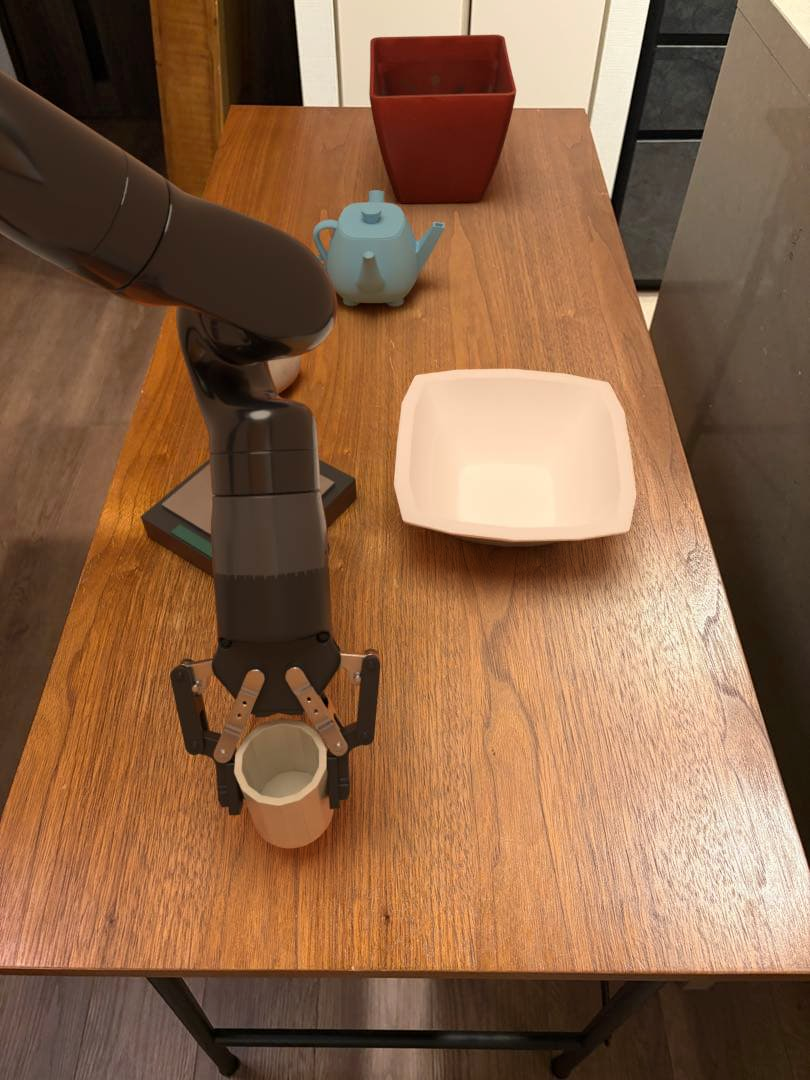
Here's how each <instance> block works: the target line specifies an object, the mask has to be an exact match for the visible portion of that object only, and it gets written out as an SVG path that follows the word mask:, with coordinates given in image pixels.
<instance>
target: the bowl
mask: <svg viewBox="0 0 810 1080" xmlns="http://www.w3.org/2000/svg"><path fill="white" fill-rule="evenodd" d="M626 419H627V418H626V414H625V410H624V408H623V406H622V404H621V402H620V400H619V398H618V397H617V395H616V393H615V391H614V389H613V387H612V385H611V384H610V383H609V382H608V381H604V380H600V379H594V378H589V377H583V376H579V375H575V374H569V373H564V372H563V373H562V372H561V373H560V372H551V371H541V370H532V369H531V370H530V369H519V368H475V369H473V368H471V369H451V370H443V371H437V372H428V373H420V374H416V375H415V376H414V377H413V378H412V381H411V383H410V385H409V387H408V389H407V392H406V393H405V395H404V397H403V398H402V401H401V406H400V415H399V423H398V431H397V441H396V451H395V452H396V453H395V466H394V476H393V477H394V478H393V487H394V492H395V495H396V500H397V503H398V507H399V512H400V517H401V520H402V522H403V523H405V524H407V525H411V526H416V527H420V528H424V529H429V530H431V531H436V532H440V533H443V534H448V535H450V536H452V537H454V538H456V539H459V540H462V541H466V542H470V543H473V544H474V543H475V544H478V545H486V546H496V547H504V548H515V547H517V548H518V547H520V548H521V547H523V548H524V547H525V548H526V547H538V546H539V547H540V546H545V545H546V546H547V545H552V544H556V543H560V542H565V541H567V542H569V541H584V540H591V539H598V538H604V537H610V536H611V537H612V536H618V535H624V534H627V533H629V531H630V529H631V524H632V520H633V515H634V509H635V505H636V500H637V495H638V494H637V489H636V487H637V486H636V479H635V473H634V464H633V463H634V462H633V455H632V449H631V443H630V437H629V431H628V426H627V420H626Z"/></svg>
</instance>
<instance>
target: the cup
mask: <svg viewBox="0 0 810 1080" xmlns="http://www.w3.org/2000/svg"><path fill="white" fill-rule="evenodd" d="M327 751H328V748H327V745H326V743H325V742H324V740H323V738H322V736H321V734H320V733H319V731H318V730H317V729H315V728H313V727H312V726H311V725H309V724H308V723H306V722H304V721H303V720H298V719H292V718H286V717H281V718H276V719H272V720H269V721H264V722H262V723H260V724H259V725H258V726H256V727H255V728H254V729H252V730H251V731H249V732H248V733H247V734H246V735H245V736H244V738H243V739H242V741H241V743H240V744H239V746H238V748H237V751H236V754H235V766H234V774H235V777H236V779H237V782H238V785H239V788H240V790H241V793H242V796H243V798H244V803H245V807H246V810H247V812H248V815H249V817H250V819H251V821H252V823H253V827H254V829H255V830H256V832H257V833H258V834H259V836H260V837H261V838H262V839H263V840H264V841H266V842H267V843H269V844H270V845H272V846H274V847H278V848H282V849H298V848H302V847H304V846H307V845H309V844H311V843H313V842H314V841H316V840H317V839H318V838H320V837H321V836H322V835H323V834H324V833H325V831H326V830H327V828H328V827H329V825H330V823H331V822H332V819H333V817H334V811H335V809H330V807H329V790H328V770H327Z"/></svg>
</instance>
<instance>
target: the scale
mask: <svg viewBox="0 0 810 1080" xmlns="http://www.w3.org/2000/svg"><path fill="white" fill-rule="evenodd" d="M209 464H210V460H209V458H208V459H206V461H204V462H203V463H202V464H201V465H200V466H199V467H198V468H197V469H195V470H194V471H193V472H192V473H190V474H189V475H188V476H187V477H186V478H184V480H182V481H181V482H180V483H179V484H178V485H176V486H175V487H174V488H172V490H170V491H169V492H168V493H167V494H165V495H164V496H163V497H162V498H161V499H160V500H158V501H157V502H156V503H154V504H153V506H151V507H150V508H149V509H148V510H147V511H145V512H144V513H143V514H142V515H141V516H140V519H141V522H142V525H143V527H144V530H145V532H146V535H147V537H148V538H150V539H152V540H153V541H154V542H156V543H157V544H159V545H161V546H163V547H164V548H166V549H167V550H169V551H170V552H172V553H174V554H175V555H177V556H178V557H180V558H182V559H183V560H184V561H186V562H188V563H190V564H191V565H193V566H194V567H196V568H198V570H200V571H202V572H204V573H206V574H207V575H209V576H210V577H212V578H213V579H214V576H213V562H212V547H211V537H210V536H208V535H206V534H205V533H203V532H201V531H200V530H198V529H196V528H195V527H193V526H191V525H190V524H188V523H186V522H185V521H183V520H181V519H180V518H178V517H177V516H175V515H173V514H172V513H170V512H168V511H167V510H165V509H163V508H162V503H164V502H165V501H166V500H167V499H168V498H169V497H171V496H172V495H173V494H174V493H175V492H177V491H178V490H179V489H180V488H181V487H182V486H184V485H185V484H186V483H187V482H188V481H190V480H191V479H192V478H193V477H194V476H196V475H197V474H198V473H199V472H200V471H201V470H203V469H204V468H205V467H206V466H207V465H209ZM319 469H320V475H322V476H324V477H326V478H328V479H330V480H332V481H334V482H335V487H334V488H333V489H332V490H331V491H330V492H328V493H327V494H326V495H325V496H324V497H323V498H322V503H323V508H324V513H325V519H326V525H327V529H328V528H329V527H330V526H331V525H332V524H333V523H334V522H335V521H336V520H337V519H338V518H339V517H340V516H341V515H342V514H343V513H344V512H345V511H346V510H347V509H348V508H349V507H350V506H351V505H353V503H355V501H356V500H357V498H358V495H357V494H358V493H357V481H356V477H354V476H352V475H350V474H348V473H346V472H345V471H342V470H340V469H339V468H336V467H335V466H333V465H331V464H329V463H327V462H325V461H324V460H321V459H319Z"/></svg>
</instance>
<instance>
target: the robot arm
mask: <svg viewBox="0 0 810 1080" xmlns="http://www.w3.org/2000/svg"><path fill="white" fill-rule="evenodd" d="M0 234H1V235H3V237H6V238H7V239H9V240H11V241H12V242H14V243H15V244H17V245H18V246H20V247H21V248H23V249H25V250H27V251H29V252H31V253H32V254H33V255H36V256H38V257H39V258H41V259H42V260H44V261H47V262H48V263H51V264H53V265H54V266H56V267H58V268H59V269H61V270H64V271H66V272H67V273H70V274H72V275H73V276H75V277H77V278H79V279H81V280H83V281H85V282H86V283H89V284H91V285H93V286H95V287H96V288H99V289H101V290H103V291H105V292H106V293H109V294H111V295H113V296H114V297H117V298H119V299H121V300H123V301H126V302H128V303H132V304H135V305H138V306H139V305H140V306H143V307H144V306H145V307H176V310H175V323H176V333H177V338H178V342H179V346H180V349H181V353H182V354H181V355H182V357H183V360H184V364H185V366H186V369H187V373H188V376H189V379H190V383H191V387H192V390H193V392H194V396H195V399H196V402H197V405H198V408H199V411H200V413H201V415H202V418H203V422H204V424H205V427H206V430H207V435H208V454H209V455H208V459H209V460H210V475H211V489H212V495H215V496H213V497H212V517H211V547H212V562H213V576H214V578H213V588H214V603H215V617H216V632H217V633H216V634H217V647H216V650H215V653H214V654H213V657H211V658H210V657H209V658H206V659H201V660H200V659H199V660H195V661H194V660H193V659H191V658H183V659H181V660H180V661H179V662H178V663H177V665H176V666H175V667H174V668H173V669H172V671H171V672H170V675H169V679H170V683H171V687H172V693H173V697H174V701H175V706H176V711H177V716H178V720H179V725H180V729H181V730H180V731H181V734H182V738H183V739H182V740H183V743H184V749H185V751H186V752H187V753H188V755H191V756H198V755H202V756H205V757H209V758H210V759H211V760H212V761H213V762H214V764H215V774H216V775H215V777H216V788H217V789H216V790H217V801H218V803H219V804H220V807H221V808H227V809H228V811H227V812H228V816H240V815H241V814H242V811H243V807H244V803H245V801H244V798H243V796H242V793H241V790H240V788H239V785H238V782H237V779H236V777H235V774H234V766H235V754H236V751H237V750H238V748H237V746H238V744H239V741H240V738H241V737H242V734H243V732H244V729H245V727H246V725H247V723H248V721H249V718H250V715H253V716H254V718H269V717H271V716H272V717H273V716H274V715H275V716H276V715H277V714H282V715H287V716H303V715H304V713H305V714H306V715H307V717H308V718H309V720H310V722H311V724H312V726H313V727H314V729H315V730H316V731H317V732H318V733H319V735H320V737H321V739H322V740H323V742H324V744H325V745H326V747H327V770H328V790H329V807H330V809H334V810H340V809H341V802H342V801H347V800H348V799H349V796H350V792H351V777H350V761H349V760H350V758H349V755H350V753H351V751H352V750H353V749H355V748H357V747H360V746H370V745H371V744H372V743H373V742H374V740H375V736H376V735H375V733H376V724H377V723H376V721H377V711H378V698H379V689H380V688H379V687H380V677H381V676H380V675H381V657H380V653H379V652H378V651H377V649H374V648H368V649H366V650H364V651H351V650H350V651H348V650H341V648H340V646H339V645H338V643H337V642H336V639H335V637H334V632H333V613H332V595H331V594H332V593H331V580H330V579H331V578H330V563H329V562H330V559H329V556H330V551H331V550H330V548H331V547H330V543H329V539H328V528H327V525H326V519H325V513H324V508H323V503H322V496H321V491H319V490H320V489H321V487H320V469H319V460H320V453H319V449H320V448H319V434H318V433H319V432H318V426H317V421H316V417H315V414H314V413H313V411H312V410H311V408H310V407H309V406H307V405H306V404H304V403H302V402H300V401H297V400H294V399H288V398H283V397H281V396H280V394H278V393H277V390H276V387H275V385H274V382H273V379H272V376H271V373H270V369H269V365H268V361H272V360H279V359H285V358H292V357H296V356H303V355H305V354H307V353H310V352H312V351H314V350H315V349H316V348H318V347H319V346H321V345H322V344H323V343H324V342H325V341H326V339H327V338H328V337H329V335H330V334H331V332H332V330H333V328H334V326H335V324H336V319H337V315H338V298H337V294H336V293H337V292H336V291H335V288H334V285H333V282H332V280H331V278H330V276H329V274H328V272H327V270H326V269H325V267H324V265H323V264H324V263H322V260H319V259H318V258H317V255H316V254H315V253H314V252H313V251H312V250H311V249H310V248H309V247H308V246H307V245H305V243H303V242H301V241H300V240H299V239H297V238H296V237H295V236H293V235H291V234H290V233H287V232H285V230H282V229H280V228H278V227H276V226H274V225H272V224H269V223H268V222H265V221H262V220H261V219H258V218H256V217H253V216H250V215H248V214H245V213H243V212H240V211H239V210H236V209H233V208H230V207H228V206H226V205H223V204H220V203H218V202H214V201H211V200H209V199H205V198H202V197H199V196H196V195H194V194H191V193H188V192H186V191H185V190H182V188H180V187H178V186H177V185H175V184H174V182H171V181H170V180H169V179H167V178H166V177H164V176H163V175H162V174H160V173H159V172H157V171H156V170H154V169H153V168H152V167H150V166H148V165H147V164H145V163H144V162H143V161H141V160H139V159H137V158H136V157H135V156H134V155H132V154H130V153H129V152H127V151H126V150H124V149H123V148H122V147H120V146H118V145H117V144H115V143H114V142H113V141H111V140H110V139H107V138H106V137H105V136H103V135H102V134H100V133H98V132H97V131H95V130H94V129H93V128H90V127H89V126H87V125H86V124H84V123H83V122H82V121H80V120H78V119H77V118H75V117H74V116H72V115H70V114H69V113H67V112H66V111H64V110H63V109H61V108H60V107H59V106H56V105H55V104H54V103H52V102H50V101H49V100H48V99H46V98H44V97H43V96H41V95H39V94H38V93H37V92H35V91H33V90H32V89H30V88H29V87H27V86H26V85H24V84H22V83H21V82H19V81H18V80H16V79H15V78H13V77H12V76H10V75H9V74H7V73H5V72H4V71H2V70H1V69H0ZM340 668H341V669H344V670H345V671H346V672H347V674H348V679H349V682H350V683H351V684H352V685H354V686H358V687H359V689H358V701H357V702H358V703H357V712H356V721H354V722H352V723H349V724H347V725H345V724H344V723H343V721H342V719H341V718H340V716H339V714H338V712H337V710H336V707H335V705H334V703H333V701H332V700H331V697H330V696H329V694H328V692H327V691H326V689H327V687H328V686H329V684H330V683H331V682H332V679H333V678H334V677H335V675H336V673H337V672H338V671H339V669H340ZM211 676H214V677H215V678H216V679H217V680H218V681H219V682H220V683H221V685H222V687H224V688H225V690H226V691H227V692H228V693H229V694H230V695H231V696H232V697H233V699H234V700H235V701H234V702H233V706H232V708H231V710H230V713H229V715H228V717H227V720H226V722H225V724H224V727H223V729H222V732H221V733H220V732H216V731H213V730H210V725H209V721H208V715H207V711H206V710H207V709H206V705H205V700H204V696H203V694H204V693H205V691H206V690H207V688H208V687H209V686H210V685H209V684H210V677H211Z"/></svg>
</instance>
